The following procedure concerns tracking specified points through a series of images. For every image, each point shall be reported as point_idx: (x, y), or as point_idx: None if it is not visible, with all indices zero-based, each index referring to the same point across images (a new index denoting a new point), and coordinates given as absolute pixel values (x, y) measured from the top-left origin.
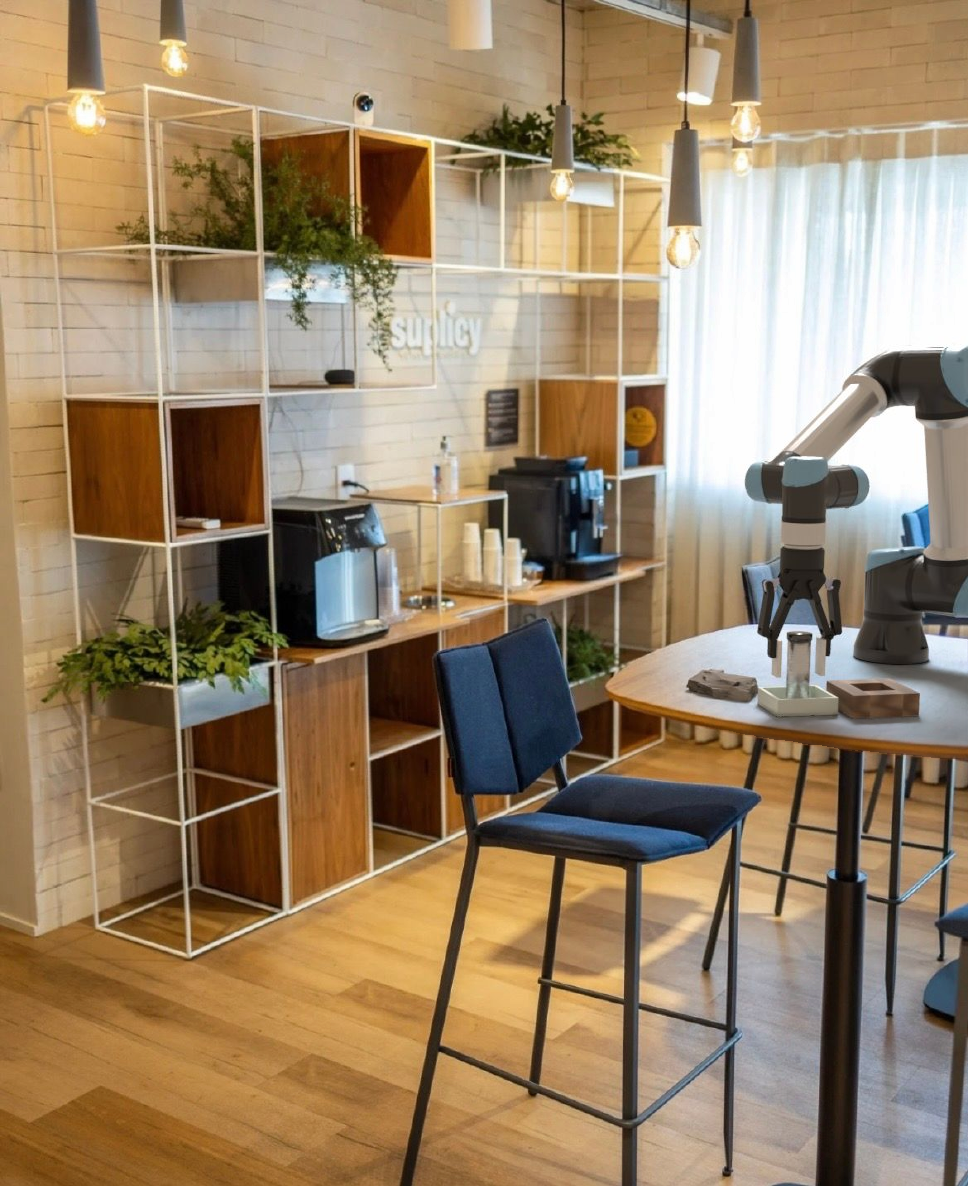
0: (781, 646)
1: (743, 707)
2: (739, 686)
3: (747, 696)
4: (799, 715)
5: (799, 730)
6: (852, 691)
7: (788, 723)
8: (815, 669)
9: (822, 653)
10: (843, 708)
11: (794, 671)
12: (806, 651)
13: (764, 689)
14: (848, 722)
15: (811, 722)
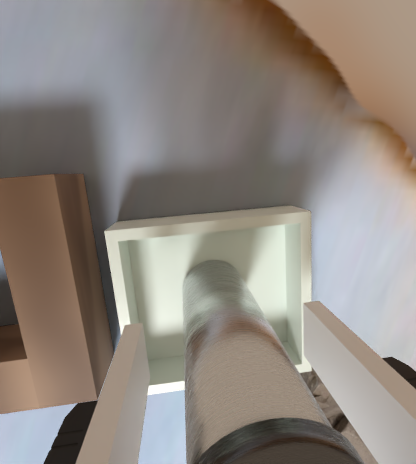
0: (397, 395)
1: (337, 308)
2: (333, 414)
3: (314, 371)
4: (228, 211)
5: (278, 49)
6: (43, 243)
7: (282, 134)
8: (147, 383)
9: (119, 395)
10: (91, 245)
11: (260, 314)
12: (228, 375)
13: (303, 344)
14: (108, 130)
15: (216, 140)
